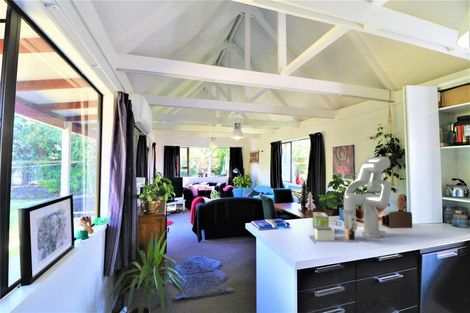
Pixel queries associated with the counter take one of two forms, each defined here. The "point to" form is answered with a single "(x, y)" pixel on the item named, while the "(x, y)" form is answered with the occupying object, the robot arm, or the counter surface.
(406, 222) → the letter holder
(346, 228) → the stub
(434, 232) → the counter surface
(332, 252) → the counter surface
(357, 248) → the counter surface
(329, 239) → the ticket board
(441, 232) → the counter surface
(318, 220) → the tea box
